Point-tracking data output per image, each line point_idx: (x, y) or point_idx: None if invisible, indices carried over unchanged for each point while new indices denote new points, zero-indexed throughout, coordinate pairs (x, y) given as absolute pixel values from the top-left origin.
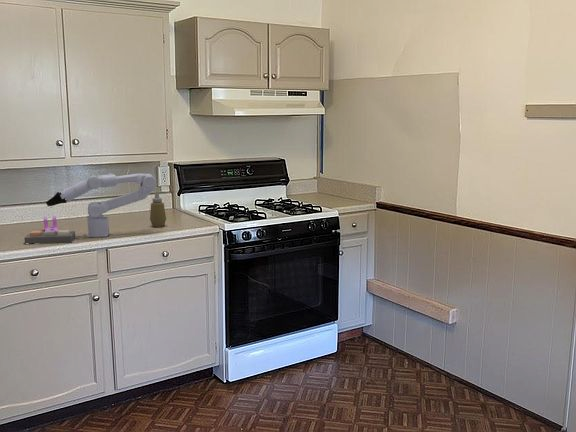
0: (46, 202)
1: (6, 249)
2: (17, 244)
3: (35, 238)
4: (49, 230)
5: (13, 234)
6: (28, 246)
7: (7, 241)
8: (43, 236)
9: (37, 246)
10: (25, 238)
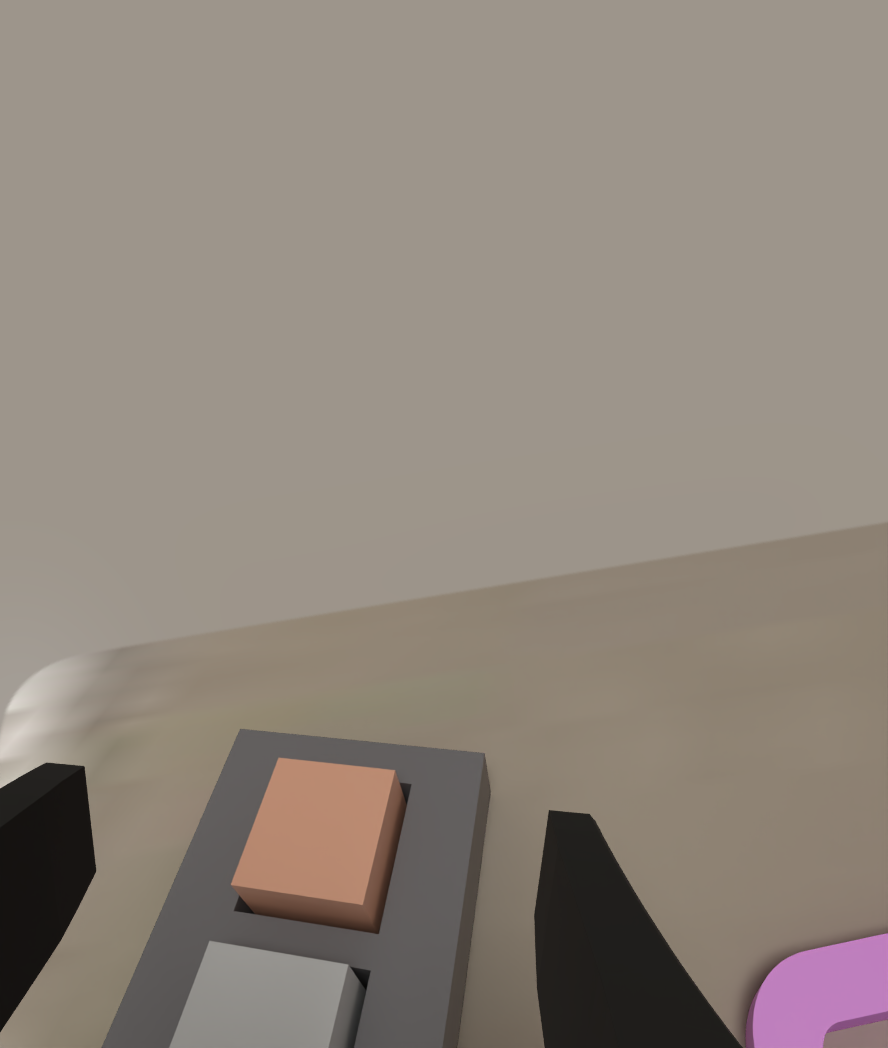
0: (30, 782)
1: (148, 653)
2: (294, 703)
3: (195, 852)
4: (320, 1026)
5: (768, 602)
6: (143, 814)
7: (459, 610)
8: (179, 952)
9: (77, 913)
10: (239, 744)
